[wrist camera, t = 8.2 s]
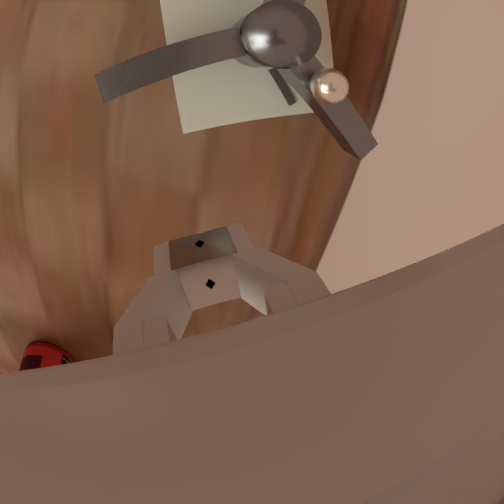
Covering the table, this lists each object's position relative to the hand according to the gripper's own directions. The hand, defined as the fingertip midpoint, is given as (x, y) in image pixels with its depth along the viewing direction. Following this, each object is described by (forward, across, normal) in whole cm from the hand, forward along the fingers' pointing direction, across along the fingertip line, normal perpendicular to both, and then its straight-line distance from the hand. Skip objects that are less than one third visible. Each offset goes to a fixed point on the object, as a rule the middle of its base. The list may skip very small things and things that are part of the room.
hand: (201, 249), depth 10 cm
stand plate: (+15, -7, -7) cm, 17 cm away
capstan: (+13, -8, -5) cm, 16 cm away
